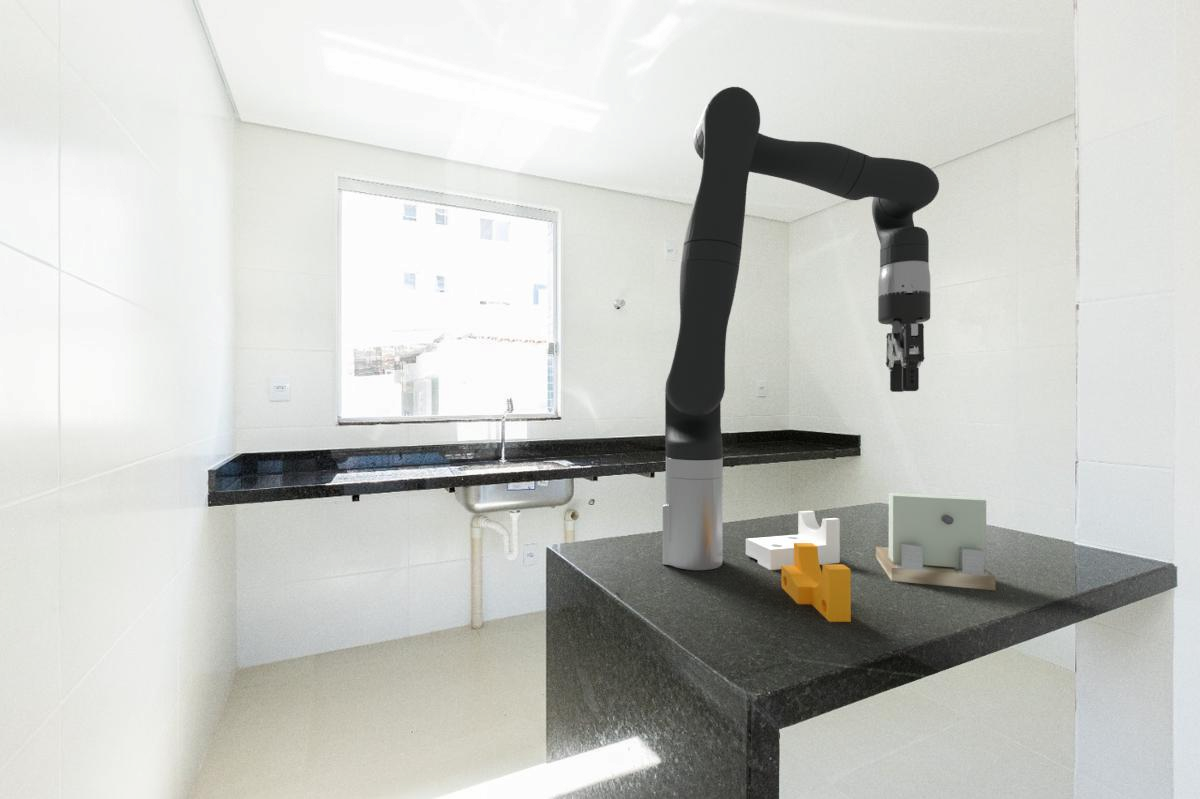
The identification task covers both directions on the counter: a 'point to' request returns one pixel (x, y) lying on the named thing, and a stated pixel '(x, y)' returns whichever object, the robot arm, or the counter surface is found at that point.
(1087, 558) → the counter surface
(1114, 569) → the counter surface
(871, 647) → the counter surface
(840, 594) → the orange stepped block
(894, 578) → the wooden base board
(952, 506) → the door
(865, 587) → the counter surface
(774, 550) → the bracket
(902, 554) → the grey slotted panel holder
